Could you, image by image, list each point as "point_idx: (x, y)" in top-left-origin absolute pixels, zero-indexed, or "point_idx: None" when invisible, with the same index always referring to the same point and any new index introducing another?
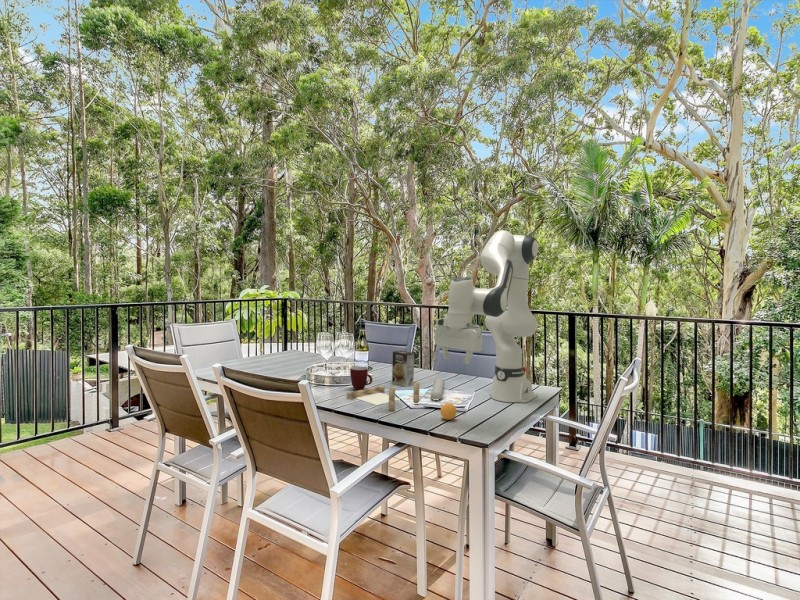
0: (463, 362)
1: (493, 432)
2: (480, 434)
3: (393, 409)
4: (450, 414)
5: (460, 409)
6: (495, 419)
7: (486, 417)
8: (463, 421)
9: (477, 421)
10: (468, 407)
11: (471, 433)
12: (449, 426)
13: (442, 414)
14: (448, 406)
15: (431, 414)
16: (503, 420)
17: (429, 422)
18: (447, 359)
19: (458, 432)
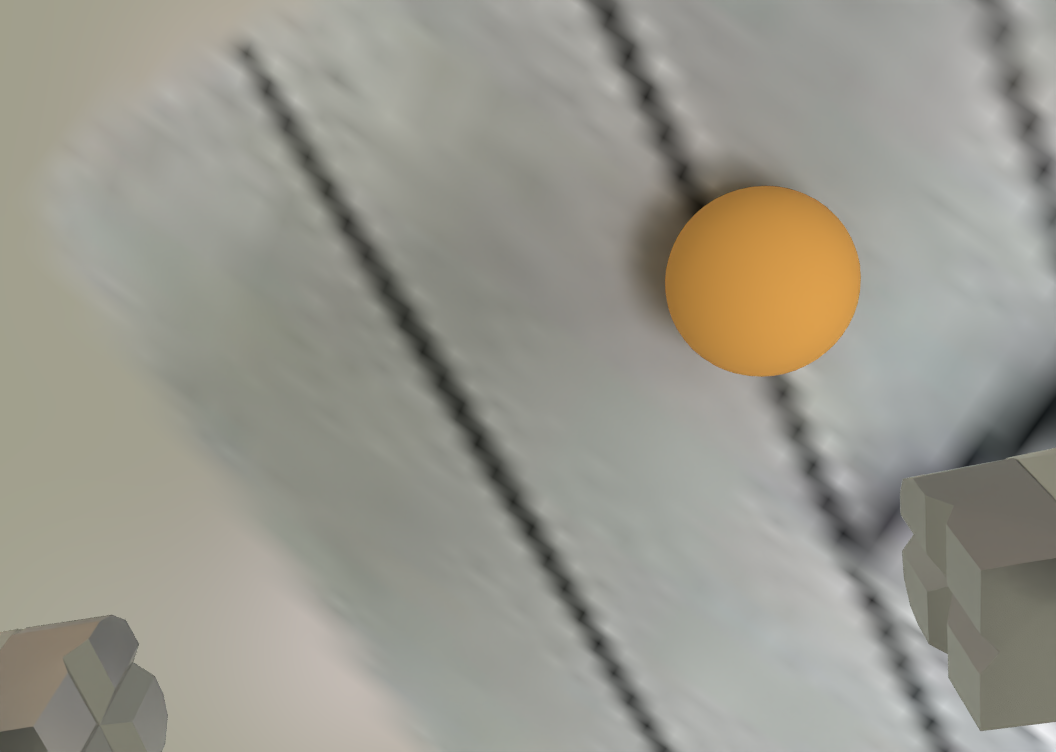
0: (101, 620)
1: (233, 418)
2: (224, 280)
3: None
4: (674, 249)
5: None
6: (527, 643)
7: (610, 612)
8: (613, 361)
9: (552, 477)
10: None
11: (277, 218)
12: (546, 137)
13: (754, 187)
14: (732, 268)
15: (981, 188)
16: (475, 681)
17: (762, 2)
18: (900, 501)
19: (349, 114)
